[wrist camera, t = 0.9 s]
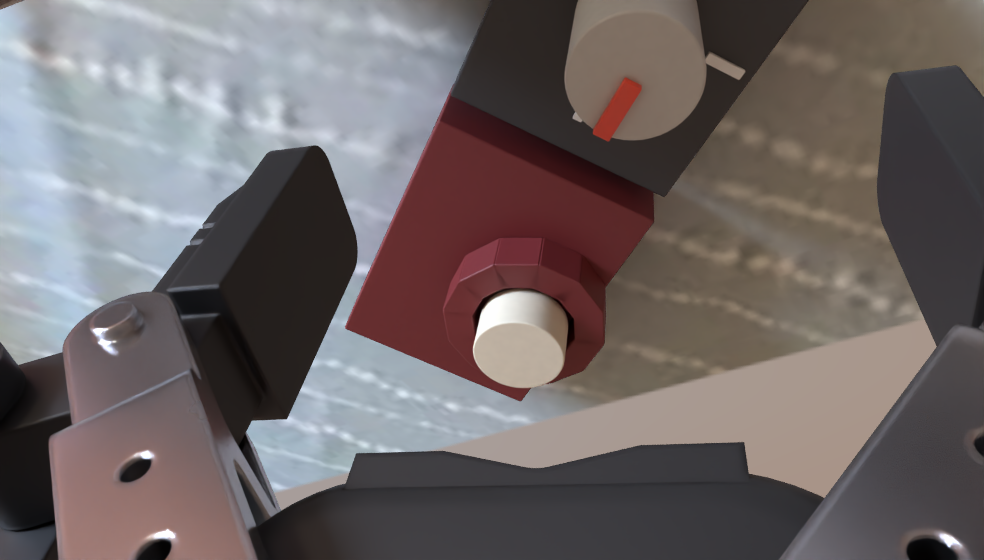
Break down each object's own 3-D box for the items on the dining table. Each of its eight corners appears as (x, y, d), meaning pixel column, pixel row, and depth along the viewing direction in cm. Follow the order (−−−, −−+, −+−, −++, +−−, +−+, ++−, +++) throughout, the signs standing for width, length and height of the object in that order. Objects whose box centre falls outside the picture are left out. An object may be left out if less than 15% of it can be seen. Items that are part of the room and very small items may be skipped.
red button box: (454, 81, 31) (427, 145, 27) (669, 184, 33) (673, 258, 29) (362, 284, 39) (332, 356, 35) (541, 361, 40) (531, 438, 36)
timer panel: (598, -239, 24) (595, -227, 22) (848, -98, 25) (866, -74, 23) (461, 67, 31) (448, 98, 29) (663, 164, 32) (664, 201, 30)
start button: (502, 274, 31) (495, 308, 29) (584, 310, 32) (581, 346, 30) (467, 332, 33) (458, 366, 32) (544, 364, 34) (539, 400, 32)
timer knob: (612, -66, 25) (606, -12, 21) (723, -7, 25) (737, 55, 21) (553, 45, 27) (539, 110, 23) (656, 95, 28) (658, 167, 24)
